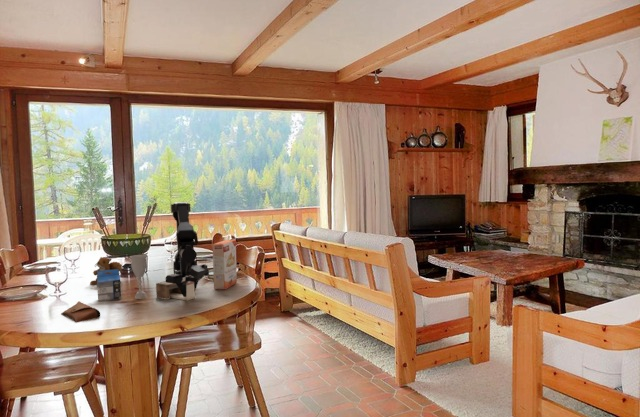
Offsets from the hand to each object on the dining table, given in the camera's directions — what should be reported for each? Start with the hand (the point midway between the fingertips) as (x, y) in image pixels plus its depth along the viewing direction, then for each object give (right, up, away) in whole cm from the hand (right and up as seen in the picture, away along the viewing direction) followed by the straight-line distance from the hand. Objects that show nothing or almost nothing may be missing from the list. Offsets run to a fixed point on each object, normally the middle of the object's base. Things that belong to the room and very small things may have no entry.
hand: (188, 295), depth 189 cm
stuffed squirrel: (-51, -1, +36) cm, 62 cm away
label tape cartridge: (-35, -3, +4) cm, 35 cm away
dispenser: (-10, -1, +6) cm, 12 cm away
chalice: (-22, -2, +5) cm, 23 cm away
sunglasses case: (-36, -5, -19) cm, 41 cm away
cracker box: (+11, 0, +21) cm, 24 cm away
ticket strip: (-5, -1, +3) cm, 6 cm away
